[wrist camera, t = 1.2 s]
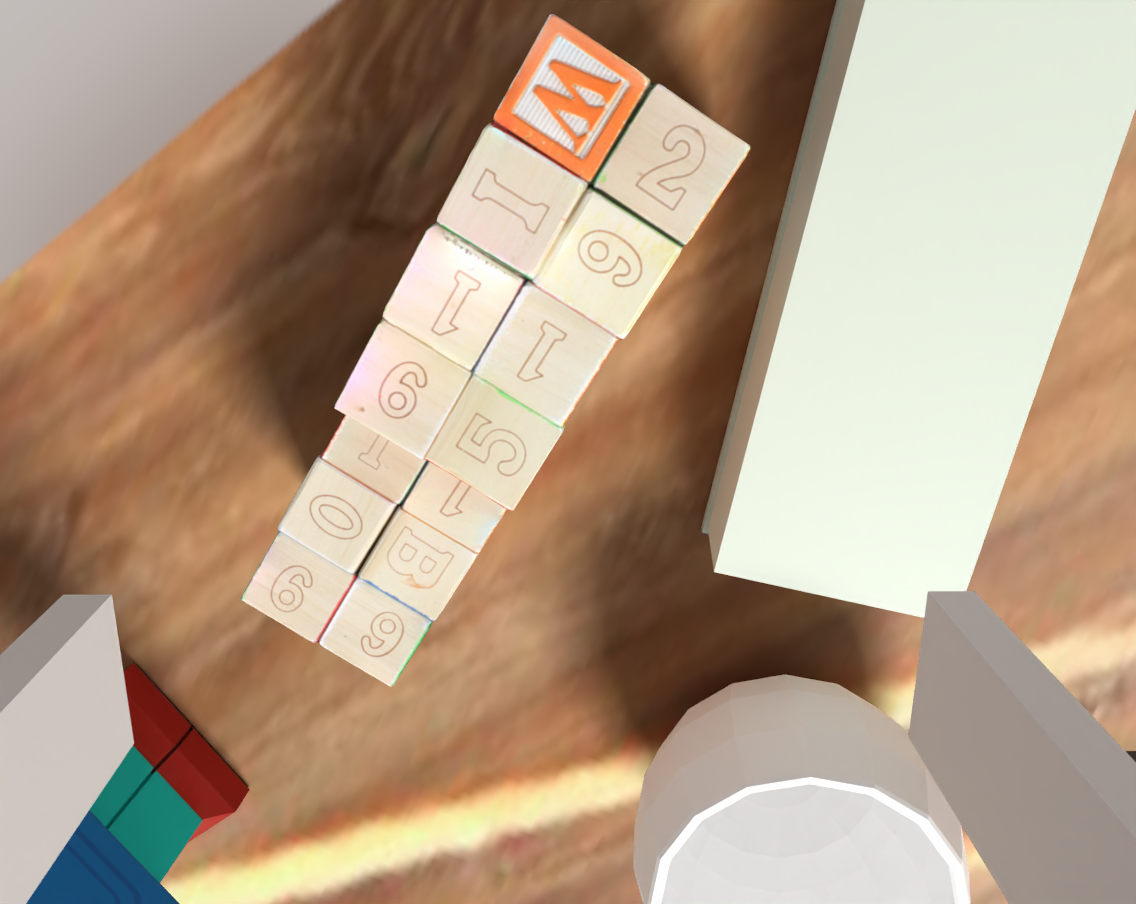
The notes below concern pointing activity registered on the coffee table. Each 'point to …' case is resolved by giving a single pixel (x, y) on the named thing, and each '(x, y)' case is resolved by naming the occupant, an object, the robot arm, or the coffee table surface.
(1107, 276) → the coffee table surface
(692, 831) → the cup
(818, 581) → the plinth
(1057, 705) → the robot arm
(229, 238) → the coffee table surface
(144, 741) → the toy robot
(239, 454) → the coffee table surface
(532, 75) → the stack of blocks
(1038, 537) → the coffee table surface
